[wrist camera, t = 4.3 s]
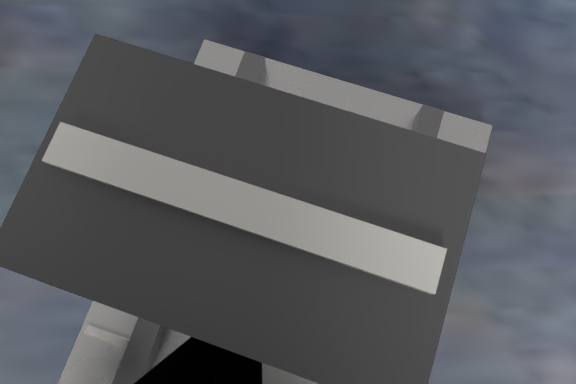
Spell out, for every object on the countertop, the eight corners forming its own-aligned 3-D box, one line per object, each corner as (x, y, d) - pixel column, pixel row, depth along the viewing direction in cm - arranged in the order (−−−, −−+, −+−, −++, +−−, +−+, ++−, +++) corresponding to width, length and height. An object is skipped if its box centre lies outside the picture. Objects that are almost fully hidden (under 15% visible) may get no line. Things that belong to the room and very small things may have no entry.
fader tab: (333, 332, 15) (422, 425, 4) (198, 284, 16) (-26, 260, 5) (358, 249, 16) (492, 149, 5) (228, 205, 16) (89, 26, 5)
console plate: (334, 704, 14) (340, 771, 12) (-4, 556, 15) (-48, 595, 13) (482, 134, 18) (504, 115, 16) (209, 52, 19) (198, 24, 17)
